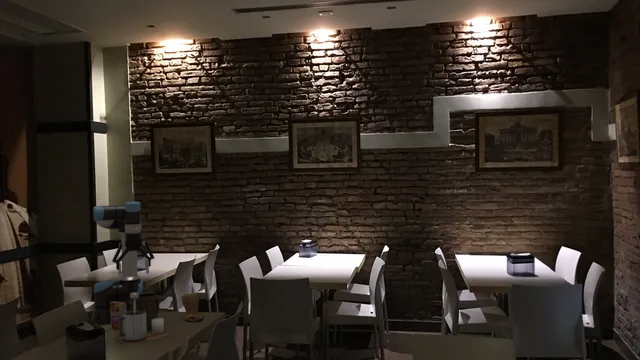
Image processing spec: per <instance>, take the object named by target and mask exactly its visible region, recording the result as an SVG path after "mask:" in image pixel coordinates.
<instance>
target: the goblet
mask: <svg viewBox="0 0 640 360" xmlns="http://www.w3.org/2000/svg"><path fill="white" fill-rule="evenodd" d="M130 298H131V299H133V301H132V302H133V311H134V315H136V310H137V300H136V298H139V293H138V292H132V293H130Z"/></svg>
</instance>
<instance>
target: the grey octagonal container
mask: <svg viewBox="0 0 640 360" xmlns="http://www.w3.org/2000/svg"><path fill="white" fill-rule="evenodd" d="M122 320H123V327H124V329H122ZM118 330H119V335H118V337H119V336H124V341H126V342H137V341H142V340H145V339H146V338H147V332H148V331H147V327H146V312H145V311H141V310H137V309H136V315H134V310H130V311H127V312H126V313H123V317H122V318H119V329H118ZM137 343H138V342H137Z"/></svg>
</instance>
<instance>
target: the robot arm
mask: <svg viewBox="0 0 640 360" xmlns="http://www.w3.org/2000/svg"><path fill="white" fill-rule="evenodd" d="M141 210H142V208H141V202H139V201H127V202H125V203H124V205H123V204H122V205H121V204H119V205H118V204H117V205H97V206H94V207H93V209H92V211H93V220H94V221H95V223H96V224H97V225H98V226H99V227H101V228H103V229H106V230H118V234H120V239H121V242H119V243H118V247H117V249H116V252H115V253H114V256H113V258H112V260H111V262H112V263H115V268H116V271H118V277H119V279H118V281H116V280H115V279H106V280H101V281H98V282H96V283H95V284H94V285H93V294H94V295H93V297H94V298H93V299H94V301H93V303H94V305H93V307H94V309H93V313H92V316H91V320H90V321H91V322H94V323H97V324H99V325H100V326H101V325H109V324H110V325H111V311H110V302H114V301H118V302H123V303H125V302H133V299H131V298H130V293H132V292H138V293H139V295H140V294H143V290H144V289H143V287H144V281H143V279H141V276H139V274H138V251H139V252H140V253H141V254H142V255H143V257H144V258H146V260H145V274H147V275H149V274H150V267H151V266H152V263H151V262H152V260H153V259H155V255H154V254H153V251H152V250H151V248H150V246H149V243H148V241H146V240H144V241H142V233H141V231H142V228H143V225H142V223H143V222H142V216H141ZM142 245H143V246H144V248H145V249H146V251H147V253H148V254H147V253H146V252H145V250H143V248H142ZM136 301H137V298H136ZM97 324H96V325H97ZM99 325H98V326H99Z"/></svg>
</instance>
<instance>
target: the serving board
mask: <svg viewBox="0 0 640 360" xmlns="http://www.w3.org/2000/svg"><path fill="white" fill-rule="evenodd" d="M171 337H172V336H171V335H170V334H168V333H167V332H165V331H164V333H162V334H152V330H150V331H147V338H146V339H145V340H142V341H137V342H126V341H124V336H119V335H118V336H115V337H114V338H115V340H116V341H118V343H120V345H122V346H124V345H130V344H136V343H141V342H142V343H143V342H147V341H154V340H159V339H165V338H171Z"/></svg>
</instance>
